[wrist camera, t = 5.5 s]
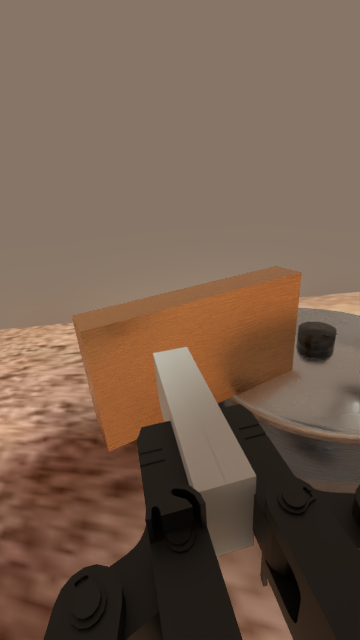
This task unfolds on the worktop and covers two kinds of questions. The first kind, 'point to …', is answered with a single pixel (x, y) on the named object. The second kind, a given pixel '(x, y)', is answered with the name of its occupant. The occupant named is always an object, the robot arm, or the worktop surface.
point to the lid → (228, 356)
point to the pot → (316, 459)
